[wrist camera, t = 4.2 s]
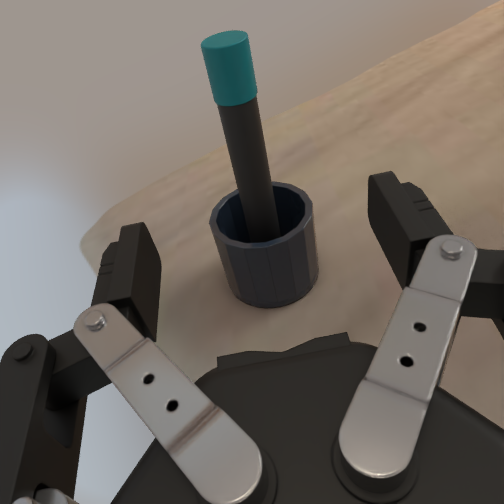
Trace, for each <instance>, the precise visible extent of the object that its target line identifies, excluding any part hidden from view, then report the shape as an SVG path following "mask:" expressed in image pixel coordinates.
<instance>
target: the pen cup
mask: <svg viewBox="0 0 504 504" xmlns="http://www.w3.org/2000/svg"><path fill="white" fill-rule="evenodd" d="M272 188H273V193H274V199H275V205H276V211H277V216H278V222H279V228H280V233H281V237H279V238H276V239H273V240H270V241H267V242H260V243H251V241H250V237H249V233H248V229H247V224H246V220H245V216H244V212H243V208H242V204H241V200H240V196H239V192H238V189H236V190H235V191H233V192H231V193H230V194H228V195H227V196H225V197H223V198H222V199H221V200H220V202H219V203H218V204H217V205H216V206H215V207H214V208H213V210H212V214H211V217H210V221H209V224H210V227H211V230H212V234H213V237H214V240H215V243H216V246H217V249H218V252H219V255H220V258H221V261H222V264H223V268H224V271H225V274H226V277H227V280H228V283H229V286H230V288H231V290H232V292H233V293H234V295H235V296H236V297H237V298H239V299H240V300H241V301H243V302H245V303H247V304H249V305H252V306H256V307H262V308H274V307H280V306H284V305H288V304H290V303H293V302H295V301H297V300H299V299H300V298H302V297H303V296H304V295H306V294H307V293H308V292H309V291H310V290H311V288H312V287H313V285H314V284H315V282H316V280H317V277H318V270H319V269H318V253H317V243H316V233H315V223H314V213H313V203H312V201H311V200H310V198H309V197H308V195H307V194H306V193H305V192H304V191H303V190H301V189H299V188H297V187H296V186H294V185H292V184H287V183H281V182H272Z"/></svg>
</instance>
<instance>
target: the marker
mask: <svg viewBox="0 0 504 504" xmlns="http://www.w3.org/2000/svg"><path fill="white" fill-rule="evenodd" d="M201 48H202V53H203V56H204V60H205V65H206V69H207V73H208V77H209V81H210V85H211V89H212V93H213V97H214V101H215V102H216V104H217V105H218V110H219V114H220V117H221V122H222V126H223V130H224V134H225V139H226V143H227V147H228V151H229V155H230V159H231V163H232V167H233V171H234V175H235V179H236V184H237V188H238V192H239V196H240V200H241V204H242V208H243V212H244V216H245V220H246V224H247V229H248V233H249V237H250V241H251V243H260V242H267V241H270V240H273V239H276V238H279V237H281V233H280V228H279V222H278V216H277V211H276V205H275V199H274V193H273V188H272V182H271V176H270V171H269V165H268V159H267V153H266V148H265V142H264V136H263V131H262V125H261V119H260V114H259V108H258V102H257V97H256V94H257V86H256V80H255V74H254V68H253V62H252V57H251V51H250V45H249V39H248V35H247V33H246V32H243V31H226V32H221V33H218V34H215V35H212V36H210V37H208V38H206V39H205V40H204V41H202V43H201Z"/></svg>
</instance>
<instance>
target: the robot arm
mask: <svg viewBox="0 0 504 504" xmlns="http://www.w3.org/2000/svg"><path fill="white" fill-rule="evenodd" d="M368 217H369V222H370V225H371V228H372V230H373V232H374V234H375V236H376V238H377V240H378V242H379V244H380V246H381V248H382V250H383V252H384V254H385V256H386V258H387V260H388V262H389V264H390V266H391V268H392V270H393V272H394V274H395V276H396V278H397V280H398V282H399V284H400V286H401V288H402V290H403V292H402V294H401V296H400V298H399V301H398V303H397V305H396V307H395V310H394V312H393V314H392V317H391V319H390V321H389V323H388V326H387V328H386V330H385V333H384V335H383V337H382V339H381V342H380V344H379V346H378V347H375V346H372V345H369V344H365V343H360V342H350V340H349V337H348V334H347V332H344V333H339V334H334V335H329V336H323V337H318V338H314V339H312V340H309V341H307V342H305V343H303V344H300V345H298V346H296V347H294V348H291V349H289V350H287V351H284V352H264V351H246V352H240V353H235V354H230V355H225V356H220V357H217V368H214V369H212V370H211V371H209V372H207V373H206V374H204V375H203V376H202V377H200V378H199V379H198V380H197V381H196V382H195V383H193V382H192V381H191V380H190V379H189V378H188V377H187V376H186V375H185V374H184V373H183V372H182V371H181V370H180V369H179V368H178V367H177V366H176V365H175V364H174V363H173V362H172V361H171V360H170V359H169V358H168V357H167V355H166V354H165V353H164V352H163V351H162V350H161V349H160V348H159V347H158V346H157V345H156V344H155V343H154V342H156V335H157V322H158V309H159V296H160V282H161V260H160V256H159V253H158V251H157V249H156V246H155V244H154V242H153V240H152V238H151V235H150V233H149V231H148V229H147V227H146V225H145V223H144V222H140V223H135V224H130V225H126V226H122V227H121V231H120V236H119V241H118V242H113V243H110V245H109V246H108V248H107V249H106V250H105V252H104V253H103V256H102V260H101V264H100V265H101V267H100V269H99V273H98V275H99V276H98V277H97V282H96V287H95V290H94V295H93V299H92V303H91V307H90V308H88V309H86V310H85V311H84V312H82V313H81V314H80V315H79V317H78V318H77V320H76V321H75V324H74V327H73V329H72V330H71V331H68V332H66V333H64V334H62V335H60V336H57V337H55V338H53V339H51V340H49V341H48V340H47V339H46V338H45V337H44V336H42V335H39V334H31V335H27V336H24V337H22V338H20V339H18V340H17V341H15V342H14V343H13V344H12V345H11V346H10V347H9V348H8V349H7V350H6V351H5V353H4V355H3V356H2V359H1V362H0V504H79V503H77V502H76V501H74V500H73V499H74V491H75V484H76V477H77V470H78V462H79V454H80V447H81V440H82V432H83V426H84V417H85V411H86V402H87V396H88V395H89V394H91V393H92V392H95V391H97V390H99V389H100V388H102V387H104V386H106V385H108V384H110V383H113V384H114V385H115V387H116V388H117V389H118V390H119V392H120V393H121V394H122V395H123V397H124V398H125V399H126V401H127V402H128V403H129V404H130V405H131V407H132V408H133V409H134V411H135V412H136V413H137V414H138V416H139V417H140V418H141V419H142V421H143V422H144V423H145V425H146V426H147V427H148V428H149V430H150V431H151V432H152V434H153V435H154V436H155V439H154V441H153V442H152V443H151V445H150V446H149V448H148V449H147V451H146V452H145V454H144V455H143V457H142V458H141V459H140V461H139V462H138V464H137V466H136V467H135V468H134V470H133V471H132V473H131V474H130V476H129V477H128V479H127V480H126V482H125V483H124V484H123V486H122V487H121V489H120V490H119V492H118V493H117V495H116V496H115V498H114V499H113V500H112V502H111V504H504V429H502V428H501V427H499V426H498V425H496V424H495V423H493V422H492V421H490V420H489V419H487V418H486V417H484V416H483V415H481V414H480V413H478V412H477V411H475V410H474V409H472V408H471V407H469V406H468V405H466V404H465V403H463V402H462V401H460V400H459V399H457V398H456V397H454V396H453V395H451V394H450V393H448V392H447V391H445V390H444V389H442V388H441V387H440V384H441V381H442V378H443V374H444V371H445V367H446V364H447V360H448V357H449V354H450V351H451V348H452V344H453V341H454V338H455V335H456V332H457V328H458V325H459V322H460V319H461V316H467V317H480V318H492V320H493V322H494V324H495V325H496V327H497V329H498V330H499V332H500V334H501V336H502V337H503V339H504V250H485V249H478V248H476V247H475V245H474V244H473V243H472V242H471V241H469V240H468V239H466V238H463V237H461V236H457V235H454V234H453V233H452V231H451V230H450V229H449V227H448V226H447V224H446V223H445V222H444V220H443V219H442V217H441V216H440V215H439V213H438V212H437V210H436V209H434V206H433V205H432V203H431V202H430V201H428V198H427V196H426V195H425V194H424V192H423V191H422V189H420V188H418V187H417V186H415V185H413V184H412V183H410V182H407V183H402V184H401V183H400V182H399V180H398V179H397V177H396V176H395V174H394V173H393V172H392V171H389V172H384V173H379V174H374V175H370V176H369V179H368Z"/></svg>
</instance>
